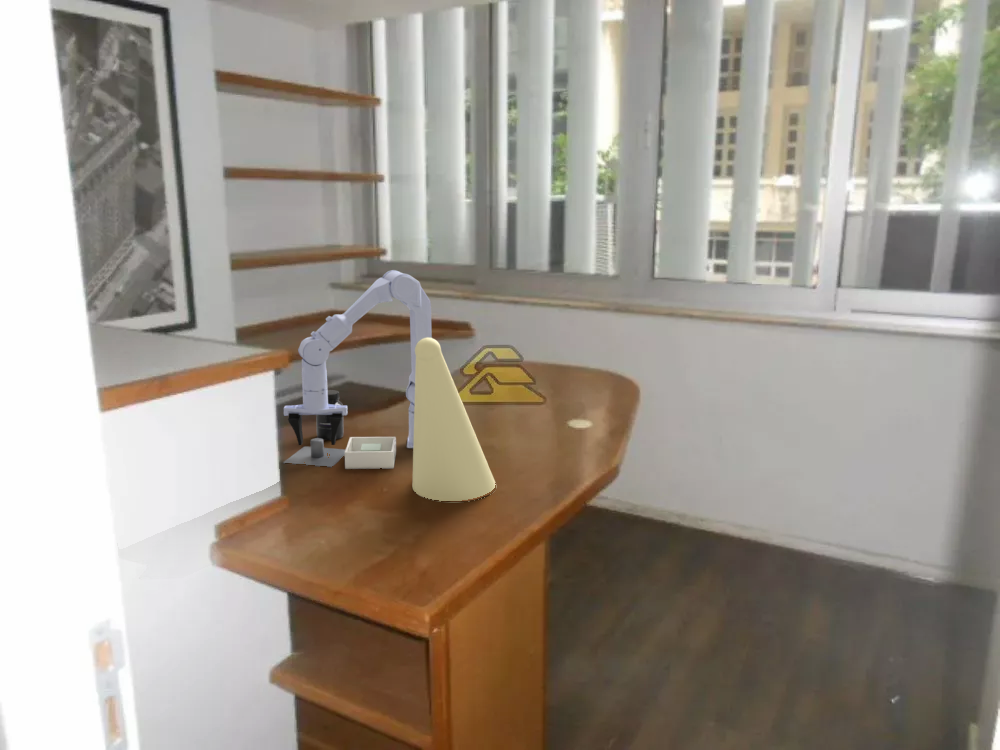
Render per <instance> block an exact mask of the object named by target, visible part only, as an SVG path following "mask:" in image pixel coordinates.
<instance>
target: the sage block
mask: <svg viewBox="0 0 1000 750" xmlns="http://www.w3.org/2000/svg"><path fill="white" fill-rule="evenodd" d="M361 451H382V444H362V447H361Z"/></svg>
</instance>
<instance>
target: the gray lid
mask: <svg viewBox="0 0 1000 750" xmlns="http://www.w3.org/2000/svg"><path fill="white" fill-rule="evenodd" d="M324 445H325V444H324V440H323V439H321V438H318V437H315V438H312V439H310V446H303V447H302V448H301V449H299V450H297V451H296V452H294V453H293V454H292V455H291V456H290V457H288V458H286V459H285V460H284V461H283V462H282V464H284V465H286V464H285V463H292V464H291V465H296V464H306V465H305V466H308V465H315V466H314V467H320V466H327V467H326V468H333V467H334V466H335V465H337V463H338V462H340V461H341V460H342V459H343V458H344V457H345V450H346V448H345V449H343V448H332V447H331V448H328V447H325V446H324ZM327 453H328V456H327ZM329 454H330V456H329ZM343 456H344V457H343ZM328 457H329V458H328ZM342 457H343V458H342ZM341 458H342V459H341ZM340 459H341V460H340ZM304 462H305V463H304ZM332 466H333V467H332Z"/></svg>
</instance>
